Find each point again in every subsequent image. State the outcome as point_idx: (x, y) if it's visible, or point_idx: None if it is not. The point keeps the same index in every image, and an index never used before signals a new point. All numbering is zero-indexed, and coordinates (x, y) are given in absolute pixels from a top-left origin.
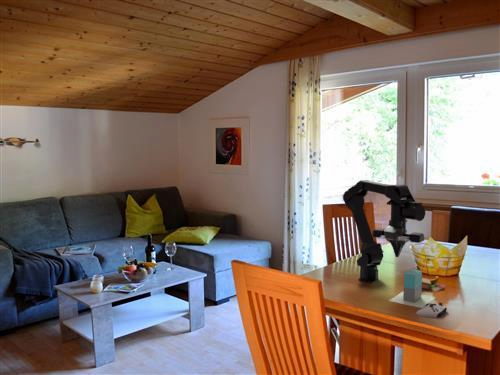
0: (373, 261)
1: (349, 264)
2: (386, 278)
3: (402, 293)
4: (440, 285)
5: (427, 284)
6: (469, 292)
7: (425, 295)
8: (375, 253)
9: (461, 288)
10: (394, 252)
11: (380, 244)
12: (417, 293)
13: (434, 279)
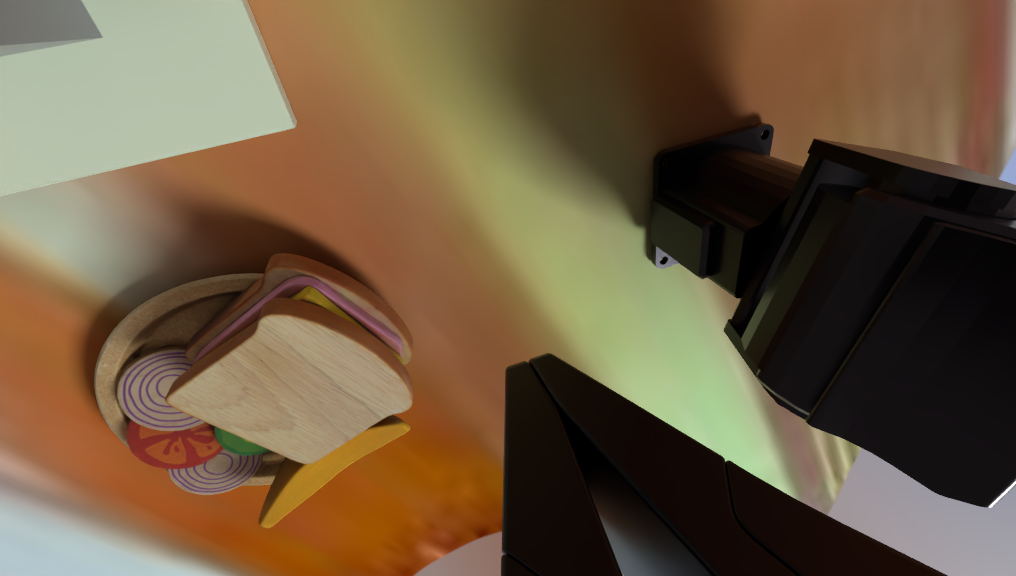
0: (809, 221)
1: None
2: (622, 323)
3: (224, 31)
4: (227, 476)
5: (188, 372)
6: (49, 554)
7: (23, 186)
8: (900, 289)
9: (166, 556)
10: (619, 398)
11: (953, 495)
12: None
13: (282, 495)
